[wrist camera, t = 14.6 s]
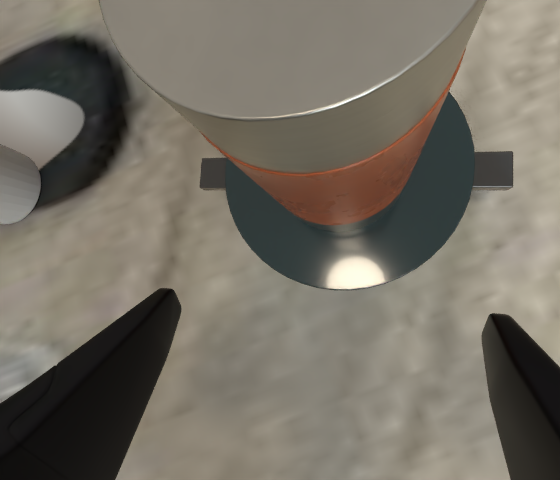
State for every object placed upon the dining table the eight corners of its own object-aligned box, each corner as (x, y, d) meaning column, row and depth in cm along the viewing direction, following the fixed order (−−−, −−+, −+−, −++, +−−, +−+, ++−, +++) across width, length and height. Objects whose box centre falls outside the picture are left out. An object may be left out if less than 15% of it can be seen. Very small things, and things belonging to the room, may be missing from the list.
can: (439, 162, 17) (665, -180, 4) (339, 260, 17) (272, 220, 5) (339, 80, 18) (285, -351, 6) (251, 172, 19) (28, -32, 6)
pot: (487, 297, 20) (522, 302, 15) (217, 279, 24) (184, 280, 19) (488, 83, 21) (521, 33, 16) (230, 100, 25) (202, 63, 20)
